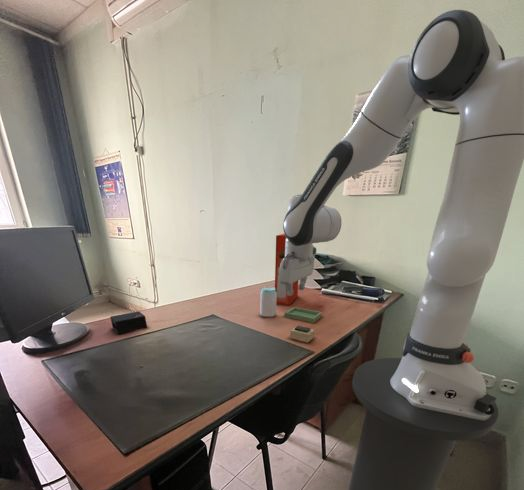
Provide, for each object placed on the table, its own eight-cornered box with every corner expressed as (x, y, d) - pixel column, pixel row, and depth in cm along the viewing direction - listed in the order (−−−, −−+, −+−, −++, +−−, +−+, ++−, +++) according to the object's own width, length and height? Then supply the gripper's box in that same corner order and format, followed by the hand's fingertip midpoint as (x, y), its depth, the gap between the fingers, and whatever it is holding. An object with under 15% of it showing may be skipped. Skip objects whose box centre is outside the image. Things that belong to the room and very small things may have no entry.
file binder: (273, 303, 142) (276, 235, 128) (283, 295, 157) (286, 232, 143) (289, 305, 140) (293, 235, 126) (297, 296, 154) (301, 233, 140)
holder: (321, 316, 126) (322, 312, 125) (313, 323, 119) (314, 318, 118) (293, 311, 132) (294, 307, 131) (284, 316, 125) (284, 312, 124)
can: (277, 317, 124) (278, 290, 118) (261, 318, 123) (261, 290, 117) (274, 312, 130) (275, 286, 125) (259, 312, 129) (259, 286, 124)
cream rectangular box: (313, 338, 105) (314, 327, 103) (307, 342, 101) (308, 332, 99) (295, 333, 108) (296, 324, 106) (290, 338, 104) (290, 328, 102)
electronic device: (112, 328, 110) (110, 316, 107) (141, 322, 116) (138, 311, 113) (118, 334, 104) (115, 322, 102) (147, 328, 110) (145, 316, 108)
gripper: (293, 255, 84) (291, 300, 90) (318, 248, 100) (315, 287, 106) (274, 253, 87) (273, 297, 93) (302, 247, 102) (299, 285, 109)
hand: (295, 292), depth 99 cm, fingers open, 8 cm apart
